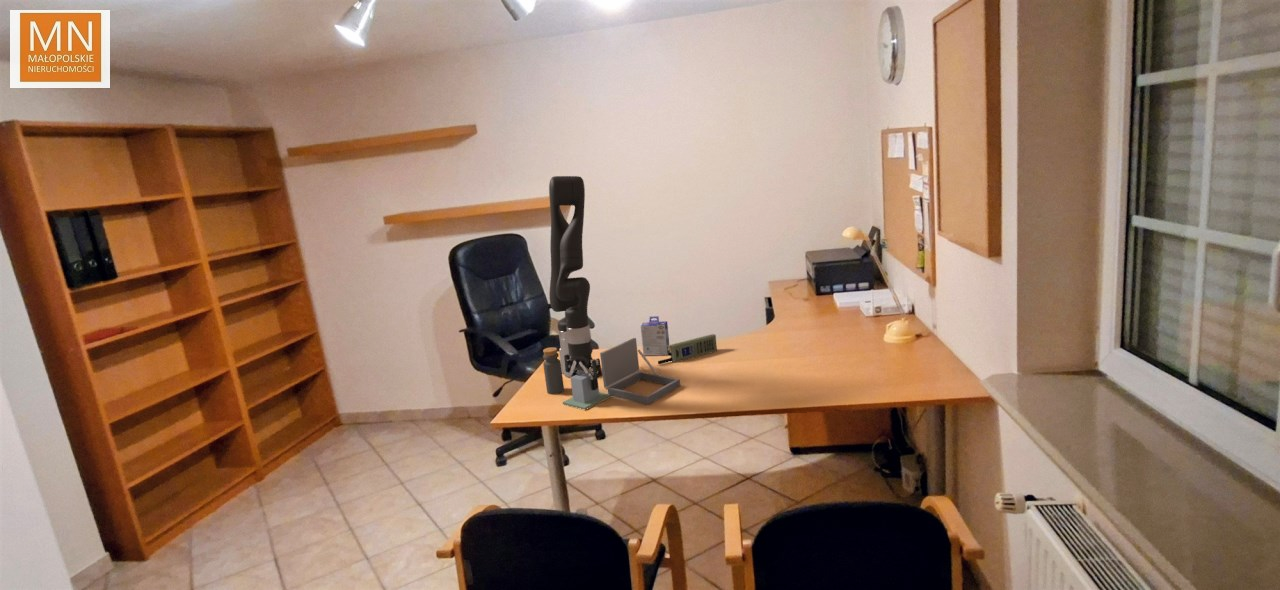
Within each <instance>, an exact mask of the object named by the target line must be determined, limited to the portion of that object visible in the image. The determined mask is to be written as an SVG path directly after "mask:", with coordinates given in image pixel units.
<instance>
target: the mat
mask: <svg viewBox="0 0 1280 590" xmlns="http://www.w3.org/2000/svg"><path fill="white" fill-rule="evenodd" d="M599 395H600V396H598V397H596V398H594V399H592V400H590V401H589V402H587V403H585V404H584V403H580V402H576V401H573V396H572V397H570V398H568V399H566V400H563V401H562V405H563V404H564V406H567V405H568V406H567V407H571V406H573V407H572V408H574V407H577V408H576V409H578V408H581V409H580V410H582V409H586V410H588V409H590V408H592V407H593V406H592V405H594V406H596V405H598V404H600V403H601V402H603V400H604V401H605V400H607V399H609V398H611V397H612V396H611V395H610V394H608V393H605V392H601V391H599ZM599 402H600V403H599ZM597 403H598V404H597ZM595 404H596V405H595ZM591 406H592V407H591ZM589 407H590V408H589ZM587 408H588V409H587Z"/></svg>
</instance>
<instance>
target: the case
mask: <svg viewBox="0 0 1280 590" xmlns="http://www.w3.org/2000/svg"><path fill="white" fill-rule="evenodd" d="M637 346H638V344H637V338H636V337H633V338H630V339H629V340H627V341H624V342H622V343H619V344H617V345H614V346H612V347H610V348H608V349H606V350H603V351H602V352H600V353H599V355H600V365H601V371H602V381H603V387H604V388H605V390H607V394H610V395H611V397H613V398H618V399H621V398H622V399H621V400H627V401H631V402H635V403H638V404H643V405H647V406H649V405H652V403H655V402H656V401H658V400H659V399H661V398H663V397H664V396H666V395H668V394H670V393H672V392H673V391H675V390H677V389H678V388H680V387H681V379H680V378H675V377H672V376H665V375H660V373H658V372H657V371H656V369H655V368H654V367H653V365H652V364H651V362H650V361H649V360H648V359H647V356H644V355H643V351H641V349H638V347H637ZM638 353H639V354H640V356H641V357H642V359H643V360H644V362H646V364H647V365H648V367H649V368H650V369H651V371H652V372H653V373H651V372H645V371H642V370H640V365H639V355H638ZM640 381H647V382H650V383H651V382H652V383H655V384H661V385H664V386H662V387H660V388H658V389H656V390H654V391H653V392H651V393H650V394H648V395H645V394H640V393H638V392H637V393H635V392H631V391H627V390H625V389H626V388H629V387H631V386H632V385H634V384H636V383H638V382H640Z"/></svg>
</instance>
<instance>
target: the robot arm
mask: <svg viewBox="0 0 1280 590" xmlns="http://www.w3.org/2000/svg"><path fill="white" fill-rule="evenodd" d="M584 182H585V180H584V179H583V178H582V176H579V175H559V176H558V175H556V176H552V177H551V178H550V180H549V185H548V192H549V193H548V194H549V196H548V197H549V210H550V241H549V242H550V283H549V304H550V307H551V309H552V311H554V312H556V313H560V312H564V317H562V318H561V319H559V320H558V321H557V331H558V332H557V333H558V339H559V346H560V348H559V350H558V352H559V353H558V354H559V358H560V359H559V360H560V362H561V369H562V375H564V376H565V377H566V378H571V377H573V376H575V375H577V374H579V373H581V372H583V371H585V373H586V374H588V375H589V377H590V379H591V380H590V382H591V390H596V389H597V388H598V387H599V381H598V380H599V378H601V377H603V373H602V365H601V359H600V358H596V359H595V358H593V357H592V354H593V351H594V350H593V344H592V343H593V342H592V335H591V328H590V324H589V316H588V314H589V313H588V305H589V297H590V292H591V291H590V290H591V284H590V282H589V280H588V279H587V278H586V277H583V276H578V277H570V275H571V273H573V272H577V271H580V270H582V269H583V267H584V255H583V254H584V253H583V232H584V231H583V230H584V222H585V221H584V217H585V201H586V200H585V199H586V198H585V197H586V195H585V193H586V191H585V189H586V188H585V183H584ZM561 206H568V207H569V206H574V212H573V214H572V215H573V216H572V218H571V220H570V223H569V222H568V221H567V220H566V218H565V217H564V216H565V215H563V212H562V210H561ZM591 372H592V373H593V374H594V375H592V373H591ZM597 379H598V380H597Z"/></svg>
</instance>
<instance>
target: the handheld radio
mask: <svg viewBox="0 0 1280 590" xmlns="http://www.w3.org/2000/svg"><path fill="white" fill-rule="evenodd" d="M668 347H670V348H668V350H670V352H669V353H668V355H667V356H668V357H669V358H666V359H662V360H661V359H660V360H658V361H657V364H658V365H662V364H666V363H669V362H671V361H672V362H671V363H673V362H674V363H678V362H682V361H686V360H689V359H693V358H697V357H700V355H701V356H704V355H708V354H711V353H710V352H712V353H714V351H716V352H717V351H718V346H717V335H716V334H714V333H711V334H708V335H704V336H700V337H696V338H693V339H688V340H685V341H684V340H683V341H680V342H676V343H672V344H669V345H668ZM707 353H708V354H707ZM703 354H704V355H703ZM696 356H697V357H696ZM692 357H693V358H692ZM688 358H689V359H688ZM685 359H686V360H685ZM681 360H682V361H681ZM677 361H678V362H677Z"/></svg>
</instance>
